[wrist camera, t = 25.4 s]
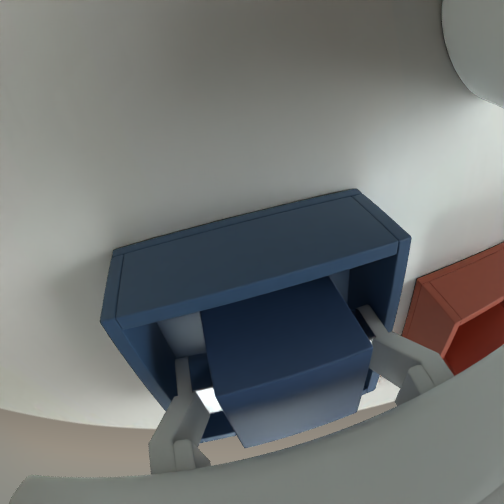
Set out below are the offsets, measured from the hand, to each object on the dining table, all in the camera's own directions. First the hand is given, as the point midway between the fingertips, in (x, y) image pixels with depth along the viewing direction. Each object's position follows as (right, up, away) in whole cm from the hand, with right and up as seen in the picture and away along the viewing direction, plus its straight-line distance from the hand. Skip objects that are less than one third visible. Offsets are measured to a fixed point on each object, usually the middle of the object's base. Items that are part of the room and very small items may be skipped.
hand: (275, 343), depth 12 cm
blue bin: (-1, +1, +2) cm, 2 cm away
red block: (+13, -1, +6) cm, 14 cm away
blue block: (0, +1, +1) cm, 2 cm away
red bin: (+13, 0, +6) cm, 14 cm away
